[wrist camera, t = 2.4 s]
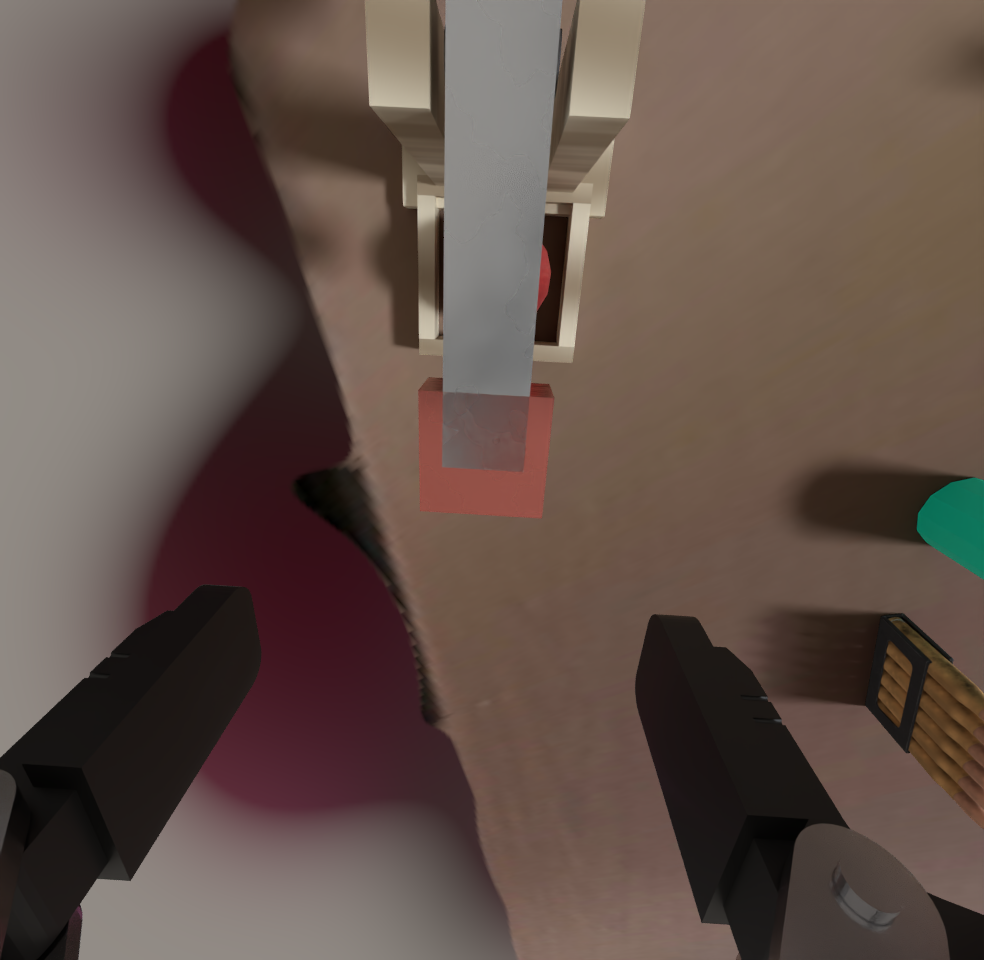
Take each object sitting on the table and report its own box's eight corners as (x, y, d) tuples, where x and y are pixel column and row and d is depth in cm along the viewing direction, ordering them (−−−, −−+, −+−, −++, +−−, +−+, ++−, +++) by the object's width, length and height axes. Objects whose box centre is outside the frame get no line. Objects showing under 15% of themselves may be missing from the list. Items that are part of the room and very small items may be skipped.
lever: (441, -620, 12) (397, -1200, 7) (636, -614, 12) (719, -1195, 7) (437, 464, 24) (419, 510, 19) (535, 470, 24) (541, 518, 19)
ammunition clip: (885, 703, 44) (1008, 844, 33) (864, 705, 44) (980, 846, 33) (903, 612, 40) (1051, 739, 29) (879, 615, 40) (1018, 742, 29)
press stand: (405, 109, 27) (282, -84, 13) (613, 119, 27) (734, -63, 12) (409, 349, 33) (328, 409, 18) (583, 358, 32) (643, 428, 18)
